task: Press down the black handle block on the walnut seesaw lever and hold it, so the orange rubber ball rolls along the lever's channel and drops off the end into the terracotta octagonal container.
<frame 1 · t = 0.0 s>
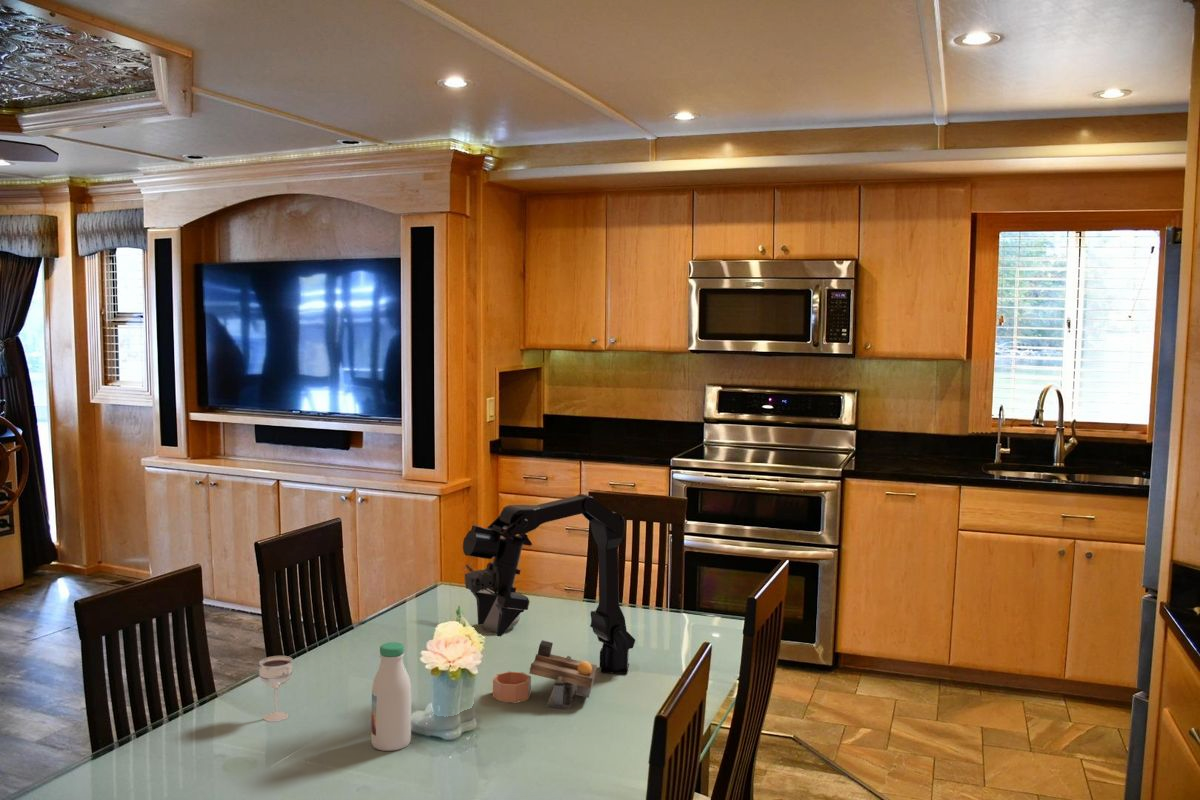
hand: (489, 630, 205), 15 cm above the table, tool pointing down, fingers open, 9 cm apart
lever: (564, 668, 208), point 6 cm above the table, hinge at -10.0°, touching ball
milk bottle: (391, 744, 183), on the table
stand: (563, 695, 209), on the table
ball: (584, 668, 205), point 7 cm above the table, tilted 12°, touching lever
terracotta octagonal container: (511, 695, 208), on the table
coffee pot: (487, 624, 259), on the table
wineglass: (276, 717, 194), on the table
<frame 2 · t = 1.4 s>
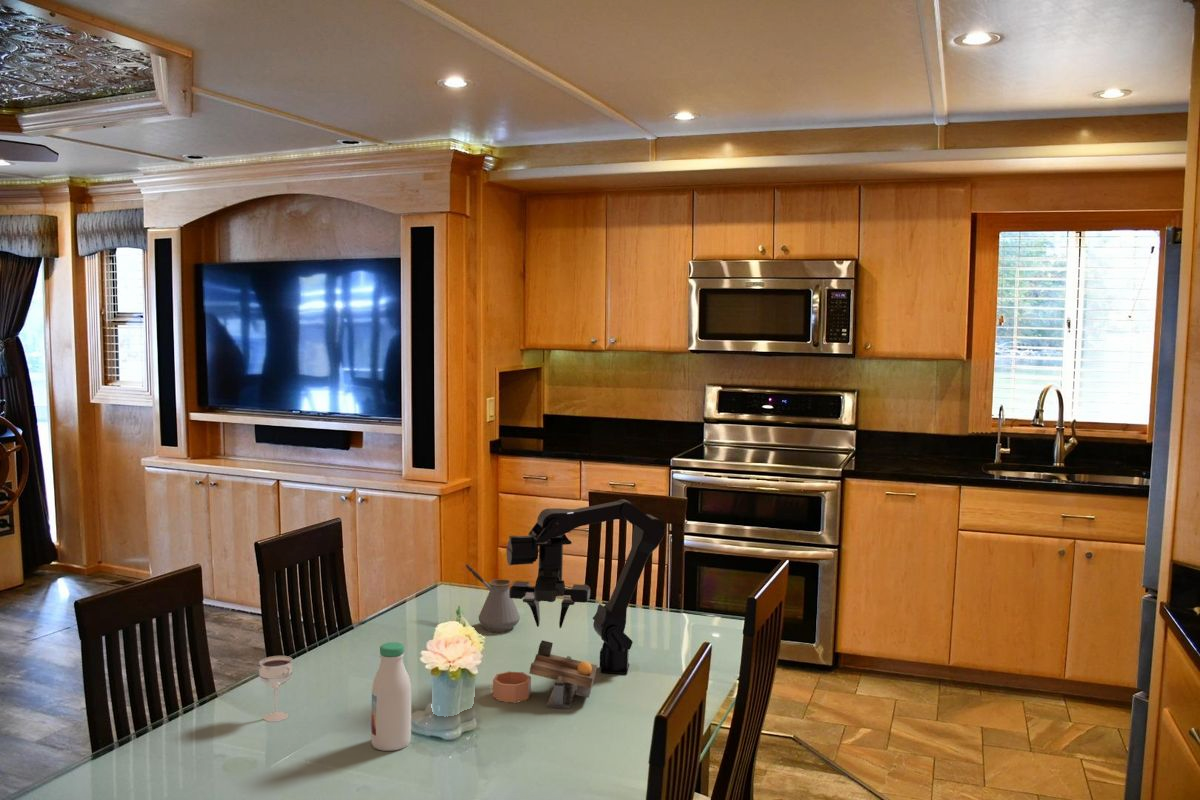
hand: (549, 626, 219), 12 cm above the table, tool pointing down, fingers open, 5 cm apart
nothing on the table moved.
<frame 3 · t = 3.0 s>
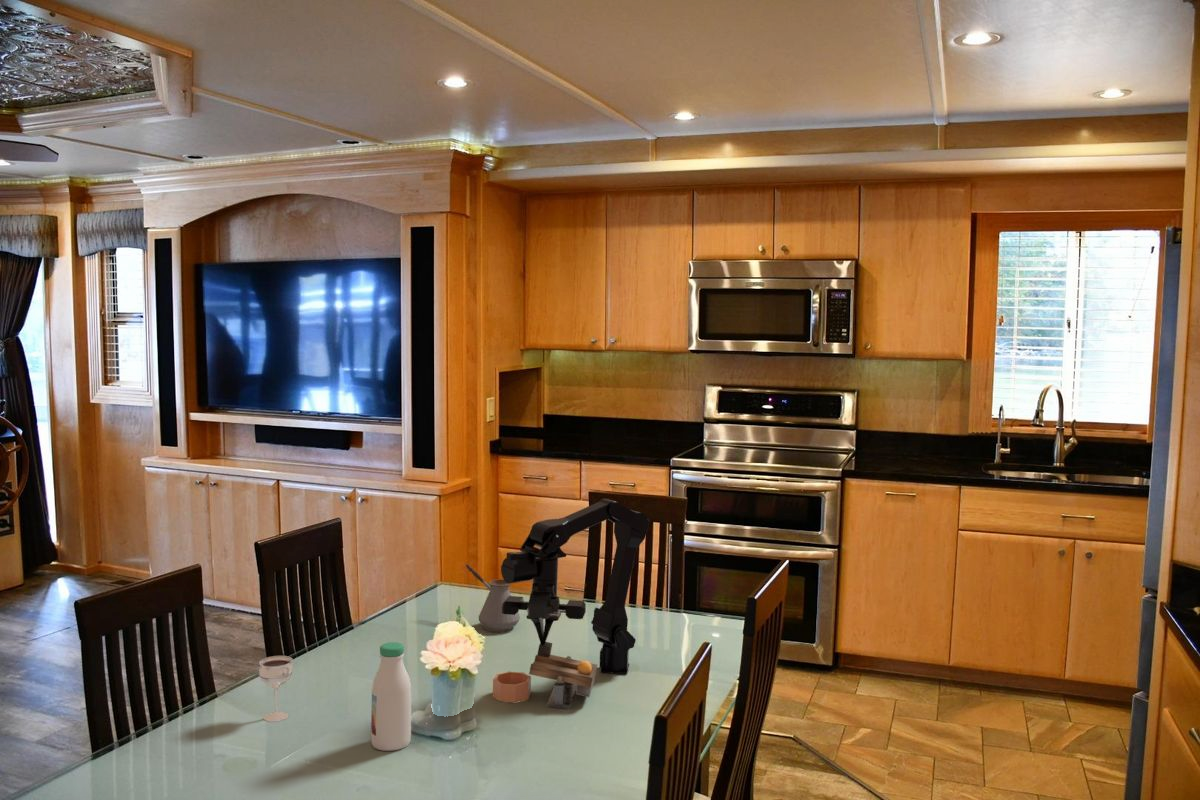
hand: (543, 643, 212), 10 cm above the table, tool pointing down, fingers closed, pressing on lever
lever: (564, 668, 208), point 6 cm above the table, hinge at -8.5°, touching ball, gripper
everything else where it was.
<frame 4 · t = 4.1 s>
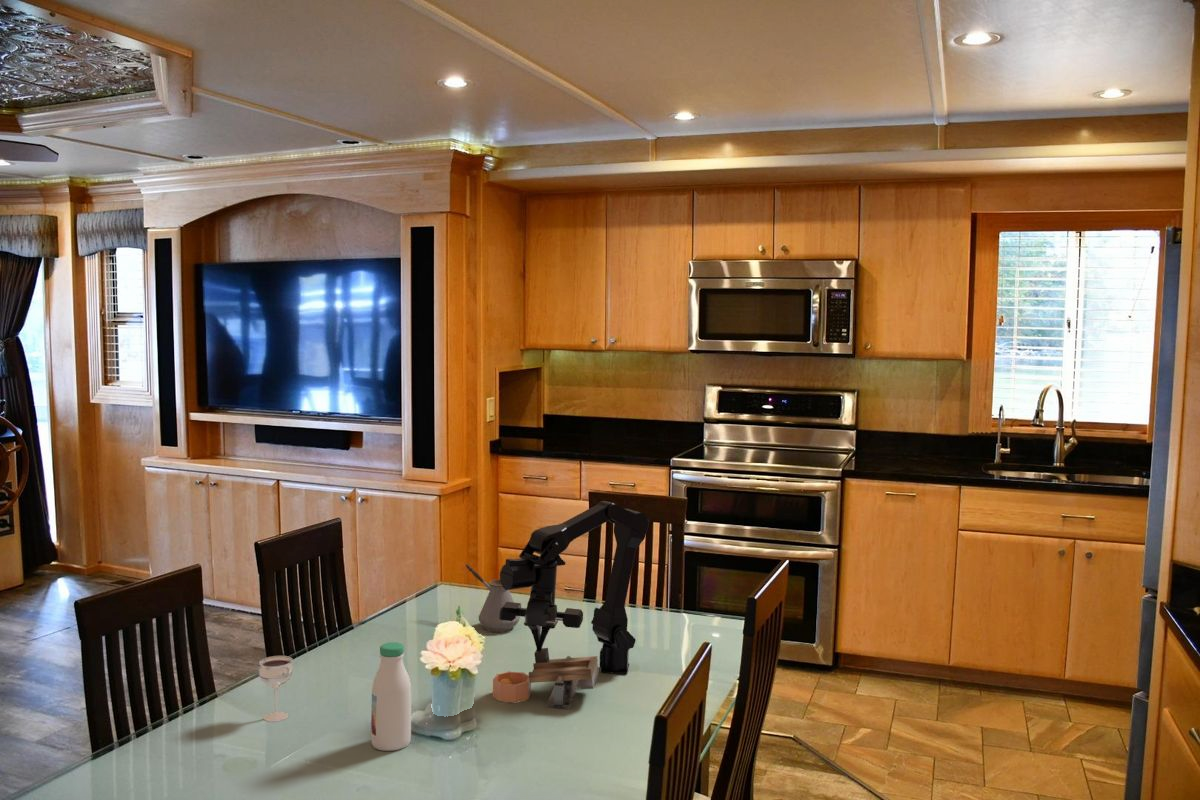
hand: (539, 650, 212), 9 cm above the table, tool pointing down, fingers closed, pressing on lever
lever: (563, 668, 208), point 6 cm above the table, hinge at 7.8°, touching gripper
ball: (504, 685, 208), point 2 cm above the table, tilted 45°, touching terracotta octagonal container
everything else where it was.
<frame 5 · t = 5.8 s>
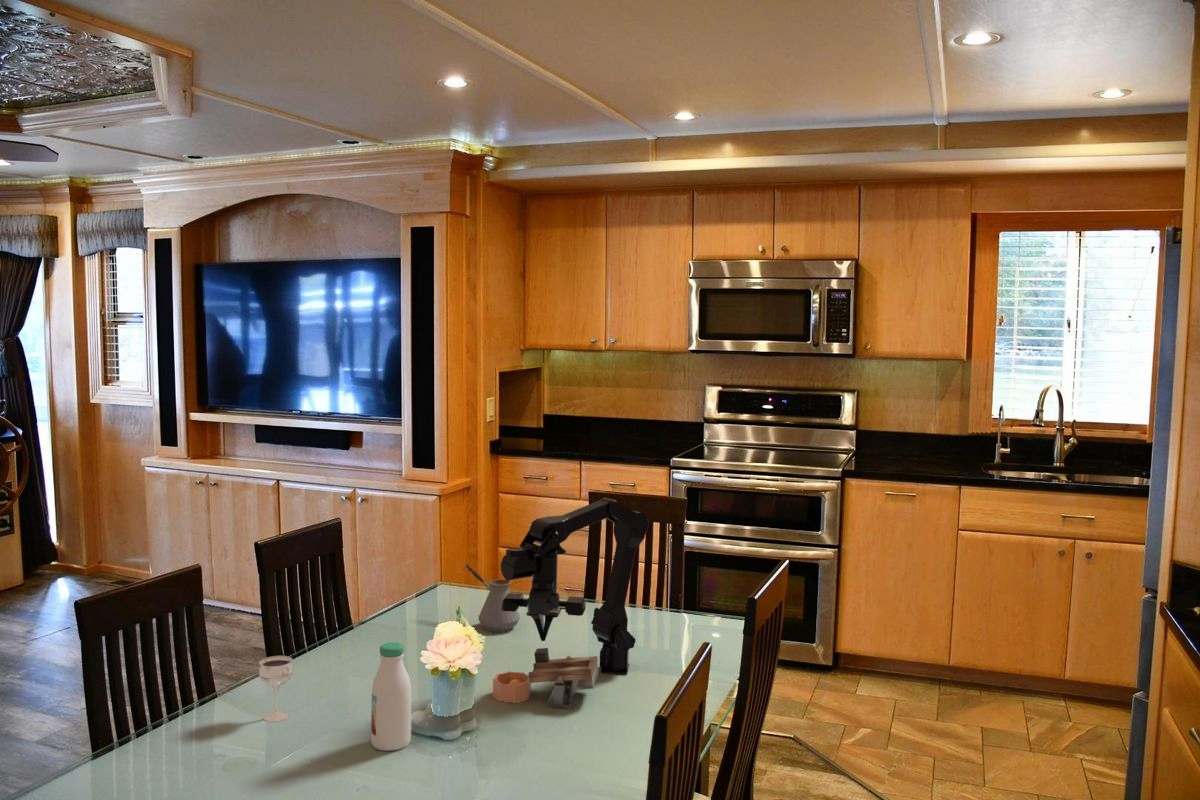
hand: (543, 640, 212), 11 cm above the table, tool pointing down, fingers closed
lever: (563, 668, 208), point 6 cm above the table, hinge at 7.9°
ball: (515, 686, 208), point 2 cm above the table, tilted 133°, touching terracotta octagonal container
everything else where it was.
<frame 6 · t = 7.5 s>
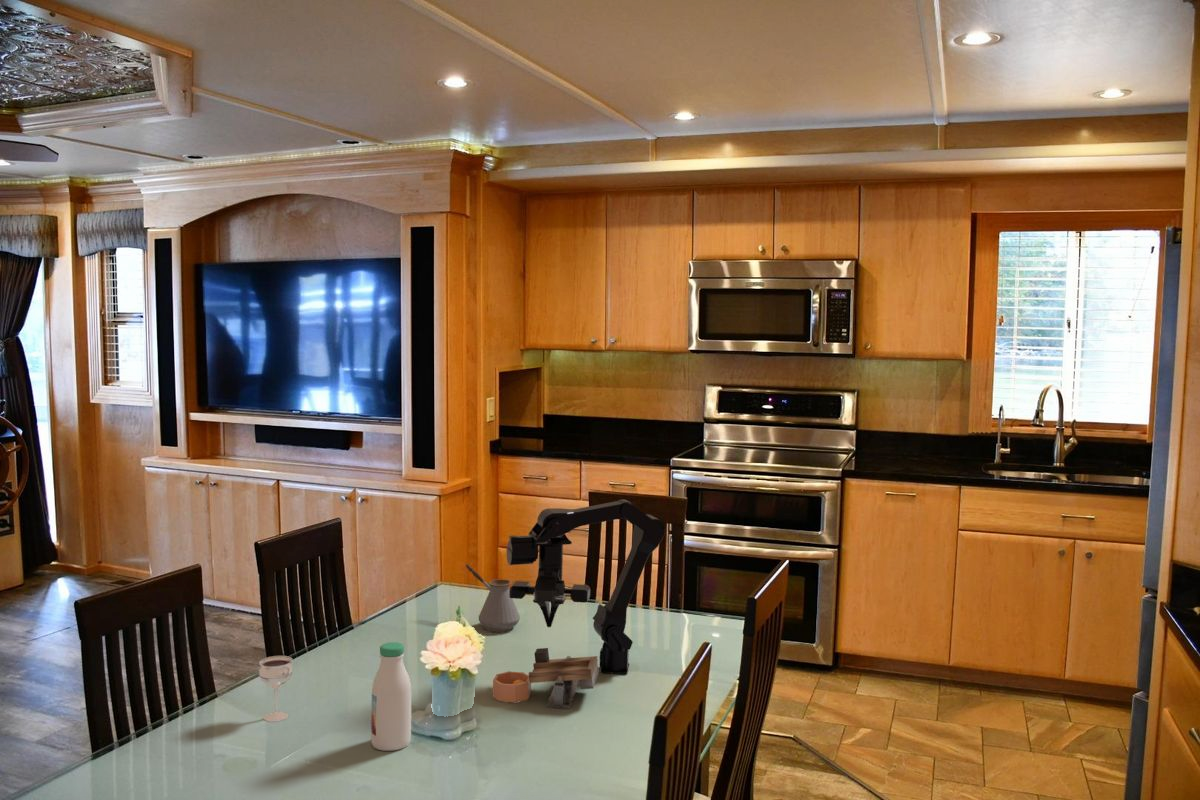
hand: (549, 626, 219), 12 cm above the table, tool pointing down, fingers closed
ball: (518, 686, 208), point 2 cm above the table, tilted 161°, touching terracotta octagonal container
everything else where it was.
at the end: ball 1.5 cm off-centre on the terracotta octagonal container, point 2.1 cm above the terracotta octagonal container's base; ball touching terracotta octagonal container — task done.
